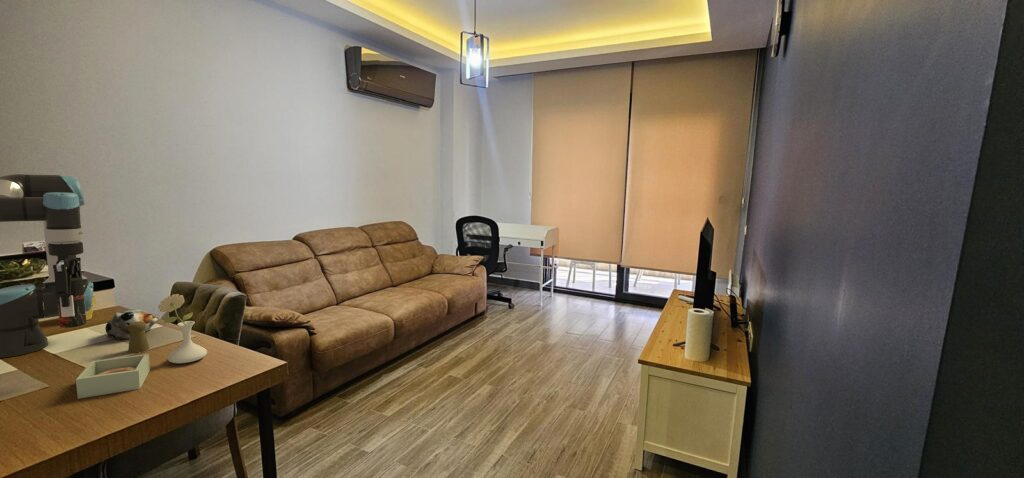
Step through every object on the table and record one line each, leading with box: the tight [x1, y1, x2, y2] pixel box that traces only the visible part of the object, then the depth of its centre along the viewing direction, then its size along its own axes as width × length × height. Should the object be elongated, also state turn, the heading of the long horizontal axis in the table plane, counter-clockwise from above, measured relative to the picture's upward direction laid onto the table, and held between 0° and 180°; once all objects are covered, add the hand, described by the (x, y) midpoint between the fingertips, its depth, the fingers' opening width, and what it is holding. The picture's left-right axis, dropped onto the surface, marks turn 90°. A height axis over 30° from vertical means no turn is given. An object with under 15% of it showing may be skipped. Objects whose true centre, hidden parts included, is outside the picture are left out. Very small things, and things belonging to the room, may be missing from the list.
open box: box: [75, 353, 151, 400], centre depth 132 cm, size 14×14×6 cm
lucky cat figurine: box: [105, 308, 160, 341], centre depth 170 cm, size 15×12×14 cm
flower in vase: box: [157, 293, 208, 364], centre depth 150 cm, size 13×11×25 cm
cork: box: [127, 321, 150, 354], centre depth 157 cm, size 6×6×11 cm
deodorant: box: [57, 277, 87, 329], centre depth 133 cm, size 6×6×15 cm
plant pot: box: [86, 295, 96, 321], centre depth 184 cm, size 10×10×10 cm
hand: (72, 313), depth 134 cm, fingers closed on deodorant, 6 cm apart
